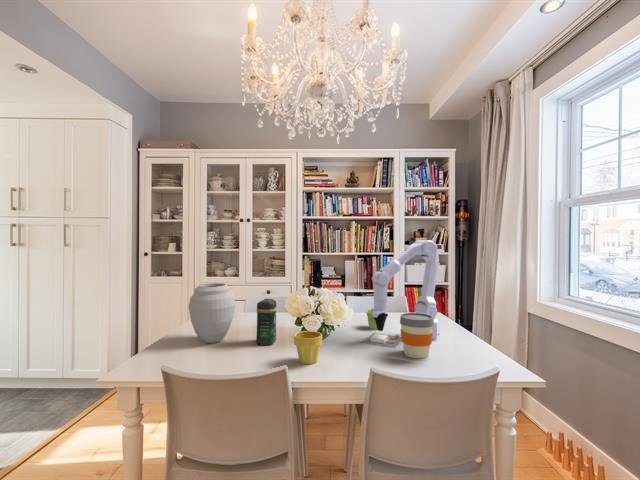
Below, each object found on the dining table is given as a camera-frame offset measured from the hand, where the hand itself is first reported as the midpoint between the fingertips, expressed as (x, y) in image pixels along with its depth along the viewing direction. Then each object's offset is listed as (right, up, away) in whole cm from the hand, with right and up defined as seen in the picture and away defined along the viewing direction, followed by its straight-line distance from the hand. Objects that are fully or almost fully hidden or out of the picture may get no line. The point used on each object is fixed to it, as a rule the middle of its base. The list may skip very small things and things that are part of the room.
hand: (380, 330), depth 150 cm
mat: (+1, -5, 0) cm, 5 cm away
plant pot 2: (+1, -5, +20) cm, 21 cm away
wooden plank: (+6, -4, 0) cm, 7 cm away
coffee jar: (-49, -5, -2) cm, 50 cm away
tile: (+1, -3, +2) cm, 4 cm away
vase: (-73, -5, 0) cm, 74 cm away
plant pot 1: (-31, -5, -24) cm, 39 cm away
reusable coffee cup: (+11, -5, -17) cm, 21 cm away
